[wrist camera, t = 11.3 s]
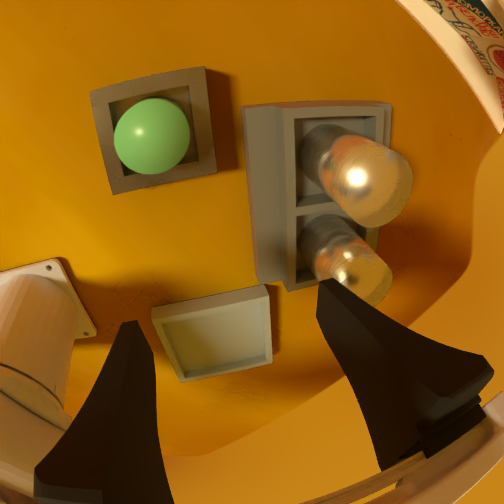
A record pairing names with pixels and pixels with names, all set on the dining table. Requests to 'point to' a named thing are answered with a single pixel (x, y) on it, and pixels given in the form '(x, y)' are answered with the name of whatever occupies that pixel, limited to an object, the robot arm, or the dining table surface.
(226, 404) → the dining table surface
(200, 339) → the tote tray
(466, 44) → the cigarette display
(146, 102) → the button
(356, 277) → the cylinder
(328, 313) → the robot arm
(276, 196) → the grey pocketed tray
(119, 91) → the button housing
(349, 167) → the seated billet
